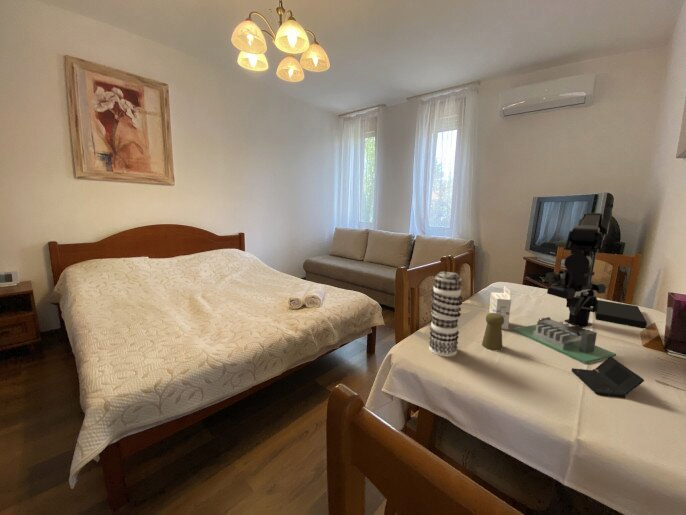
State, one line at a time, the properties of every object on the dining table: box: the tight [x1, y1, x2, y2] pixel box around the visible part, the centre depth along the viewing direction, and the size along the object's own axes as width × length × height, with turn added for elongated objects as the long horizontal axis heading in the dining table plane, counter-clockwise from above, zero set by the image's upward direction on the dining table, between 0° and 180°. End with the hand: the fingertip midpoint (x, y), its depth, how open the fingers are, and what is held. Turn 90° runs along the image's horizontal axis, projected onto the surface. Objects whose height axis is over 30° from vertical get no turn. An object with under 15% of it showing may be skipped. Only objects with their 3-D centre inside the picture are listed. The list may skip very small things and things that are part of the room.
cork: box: [481, 313, 504, 351], centre depth 93 cm, size 6×6×11 cm
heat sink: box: [533, 320, 598, 353], centre depth 96 cm, size 12×16×6 cm
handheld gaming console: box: [571, 357, 645, 399], centre depth 74 cm, size 12×7×10 cm
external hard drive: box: [594, 299, 648, 330], centre depth 121 cm, size 14×23×3 cm, turn 141°
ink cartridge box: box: [488, 285, 512, 330], centre depth 110 cm, size 9×5×15 cm, turn 168°
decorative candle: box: [428, 271, 463, 358], centre depth 89 cm, size 9×9×25 cm
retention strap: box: [538, 316, 587, 336], centre depth 96 cm, size 4×12×2 cm, turn 19°
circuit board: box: [512, 324, 617, 365], centre depth 97 cm, size 14×24×1 cm, turn 19°
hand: (572, 314), depth 94 cm, fingers closed
